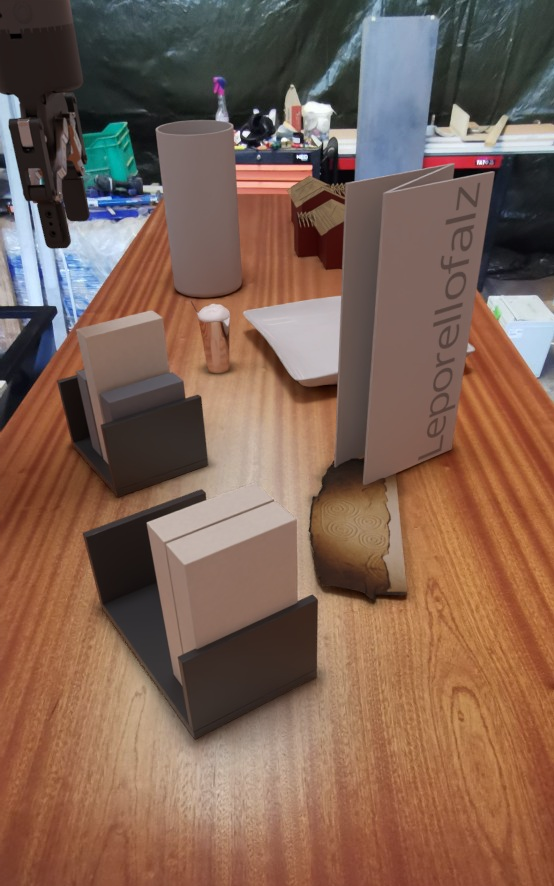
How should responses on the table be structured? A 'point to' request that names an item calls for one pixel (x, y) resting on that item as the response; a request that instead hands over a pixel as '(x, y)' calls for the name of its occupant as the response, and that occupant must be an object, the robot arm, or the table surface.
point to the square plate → (305, 337)
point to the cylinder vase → (201, 206)
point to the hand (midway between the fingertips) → (69, 233)
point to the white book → (121, 356)
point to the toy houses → (318, 220)
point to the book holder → (209, 601)
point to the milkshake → (215, 336)
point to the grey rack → (137, 430)
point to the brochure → (406, 313)
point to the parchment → (358, 532)
